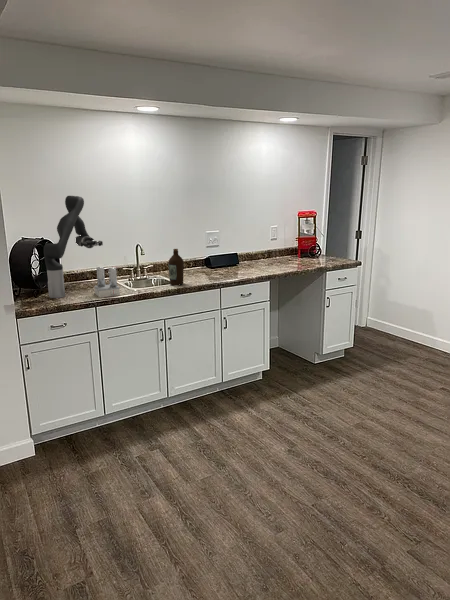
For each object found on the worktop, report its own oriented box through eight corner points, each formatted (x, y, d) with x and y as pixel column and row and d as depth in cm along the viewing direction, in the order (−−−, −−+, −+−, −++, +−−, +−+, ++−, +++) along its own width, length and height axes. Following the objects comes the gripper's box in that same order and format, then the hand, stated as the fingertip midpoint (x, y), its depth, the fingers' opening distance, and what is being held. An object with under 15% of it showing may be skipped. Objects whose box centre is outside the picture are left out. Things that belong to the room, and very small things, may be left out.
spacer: (98, 287, 288) (97, 268, 285) (97, 285, 292) (95, 267, 289) (106, 286, 290) (104, 267, 287) (104, 284, 294) (102, 266, 291)
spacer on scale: (110, 287, 286) (109, 269, 283) (108, 286, 290) (107, 268, 287) (118, 287, 288) (116, 268, 285) (116, 285, 292) (114, 267, 289)
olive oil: (176, 282, 327) (175, 247, 321) (187, 284, 321) (186, 248, 314) (165, 284, 318) (164, 249, 312) (177, 286, 312) (176, 250, 306)
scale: (99, 297, 282) (99, 289, 281) (94, 293, 293) (94, 285, 292) (120, 295, 288) (119, 287, 287) (114, 291, 299) (114, 283, 298)
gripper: (76, 237, 306) (82, 239, 293) (98, 236, 313) (104, 238, 299) (77, 248, 308) (82, 251, 294) (98, 246, 315) (104, 249, 301)
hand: (93, 244), depth 297 cm, fingers open, 8 cm apart
